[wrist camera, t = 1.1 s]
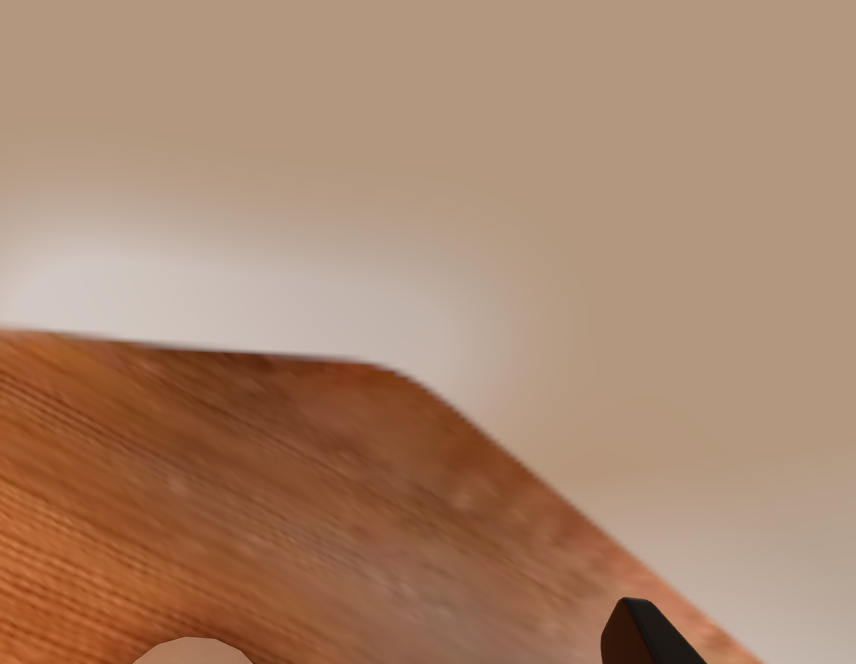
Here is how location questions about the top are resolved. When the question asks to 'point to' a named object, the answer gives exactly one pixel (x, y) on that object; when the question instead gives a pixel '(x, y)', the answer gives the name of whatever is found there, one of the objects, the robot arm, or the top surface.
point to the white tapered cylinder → (193, 652)
